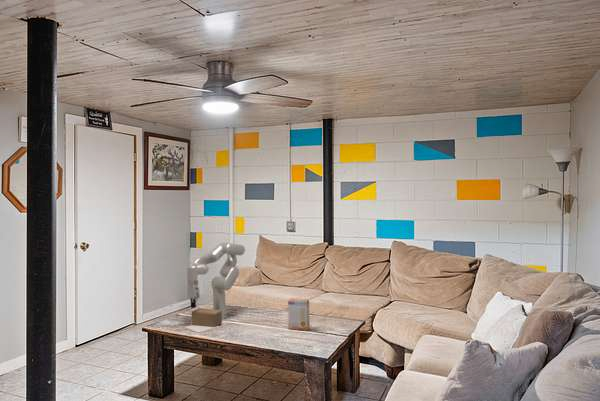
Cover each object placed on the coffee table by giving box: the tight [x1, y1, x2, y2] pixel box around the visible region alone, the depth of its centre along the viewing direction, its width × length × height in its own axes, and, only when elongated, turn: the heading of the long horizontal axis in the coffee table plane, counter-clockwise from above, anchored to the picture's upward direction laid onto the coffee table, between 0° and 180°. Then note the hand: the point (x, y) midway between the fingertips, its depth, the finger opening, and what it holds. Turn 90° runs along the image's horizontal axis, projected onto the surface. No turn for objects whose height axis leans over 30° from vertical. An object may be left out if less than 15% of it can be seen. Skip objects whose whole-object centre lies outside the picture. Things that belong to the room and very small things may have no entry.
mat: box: [184, 324, 221, 334], centre depth 314 cm, size 18×18×1 cm
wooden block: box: [191, 307, 223, 327], centre depth 320 cm, size 10×10×20 cm
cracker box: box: [287, 298, 311, 332], centre depth 308 cm, size 14×6×21 cm, turn 71°
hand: (193, 307), depth 320 cm, fingers closed
